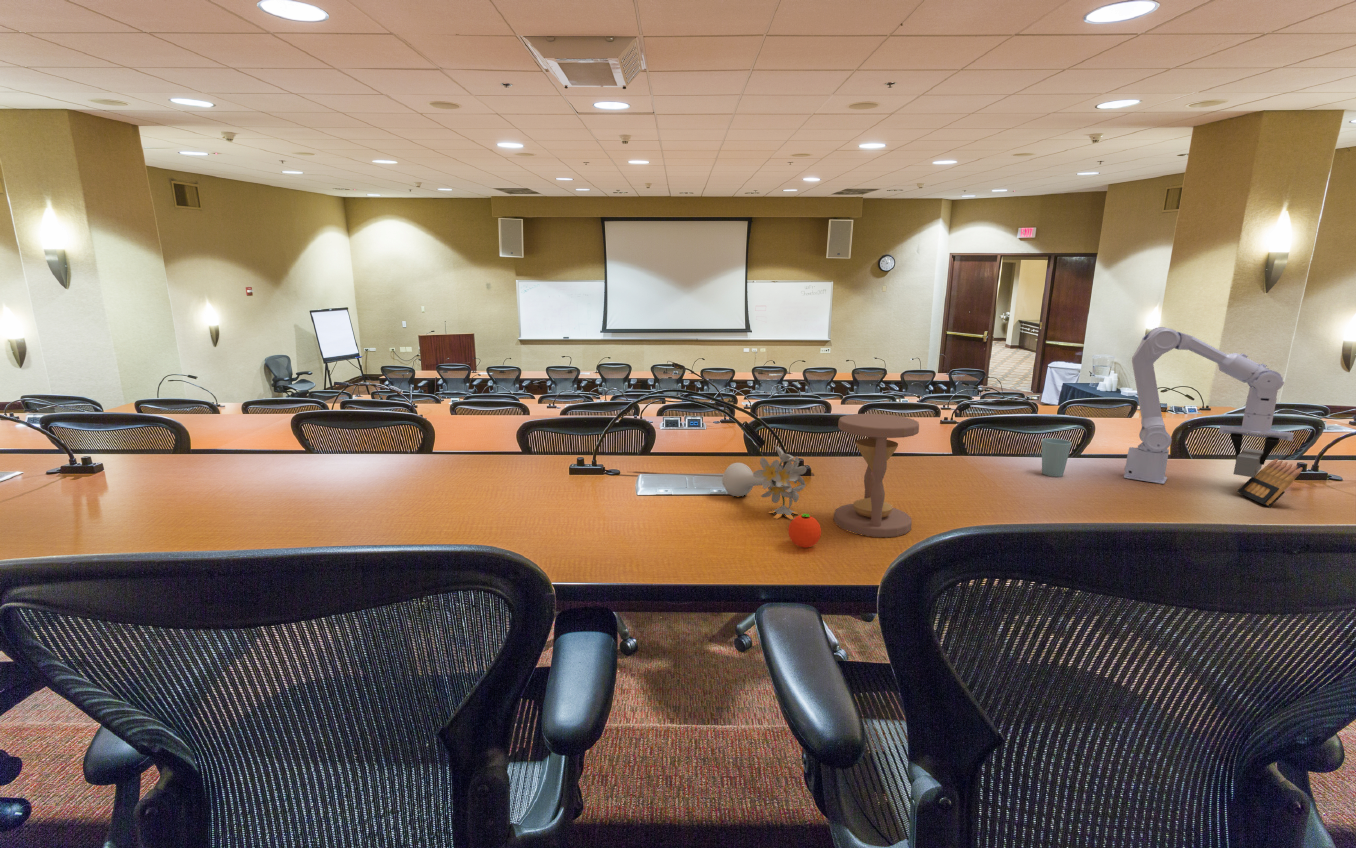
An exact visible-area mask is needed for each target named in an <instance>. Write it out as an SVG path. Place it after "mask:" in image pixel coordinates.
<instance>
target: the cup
mask: <svg viewBox="0 0 1356 848" xmlns="http://www.w3.org/2000/svg"><path fill="white" fill-rule="evenodd" d="M1071 446H1072V441H1070V440H1067V439H1061V438H1052V437H1050V438H1047V437H1046V438H1042V439H1041V474H1042V475H1043V476H1048V477H1057V478H1060V477H1063V476H1064V474H1065V470H1066V466H1067V462H1068V459H1069V454H1070V450H1071V448H1072V447H1071Z"/></svg>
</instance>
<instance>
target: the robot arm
mask: <svg viewBox="0 0 1356 848" xmlns="http://www.w3.org/2000/svg"><path fill="white" fill-rule="evenodd" d="M1173 349H1175V350H1180V351H1181V350H1182V351H1183V350H1185V351H1190V352H1192V353H1194V354H1196V355H1199V356H1201V357H1203V358H1205V359H1207V360H1209V361H1212V362H1214V363H1216V364H1217V366H1218V370H1219V372H1222V373H1224V374H1226V375H1228V376H1230V377H1232V378H1234V379H1235V380H1238V381H1240V382H1242V383H1244V384H1245V383H1246V384H1247V385H1248V386H1249V388H1248V395H1247V397H1246V402H1245V408H1244V412H1243V416H1242V417H1243V418H1242V423H1241V426H1232V425H1231V426H1230V425H1219V428H1218V429H1219V430H1218V434H1222V435H1223V434H1227V435H1230V439H1231V442H1232V445H1233V447H1234V452H1235V460H1236V459H1237V456H1238V455H1239V454H1240V453H1241V449H1242V444H1243V437H1244V436H1246V437H1256V438H1264V446H1263V454H1262V457H1261V461H1260V464H1261V465H1262V466H1263V465H1265V462H1266V460H1267V458H1268V457H1269V455H1270V453H1272V451H1273V449H1275V447H1277V446H1278V444H1279V443H1280V440H1282V441H1283V440H1284V441H1290V442H1293V441H1294V435H1295V434H1294V432H1290V431H1282V430H1281V431H1280V430H1273V429H1272V426H1273V425H1272V424H1273V420H1274V416H1275V415H1274V414H1275V409H1276V404H1277V399H1278V398H1277V396H1278V391H1279V390H1280V389H1281V388H1282V387H1283V386H1284V384H1285V381H1284V379H1283V376H1282V374H1281V373H1280V372H1278V371H1275V370H1272V369H1270V368H1268V366H1267V365H1266V364H1264V363H1261V364H1260V363H1258V362H1256V361H1254V360H1252V359H1250V358H1248V357H1249V355H1247V354H1246V353H1243V352H1242V353H1241V354H1240V353H1238V352H1233V353H1226V352H1224V351H1222V350H1219V349H1218V348H1216V347H1214V346H1212V345H1210V344H1208V343H1207V342H1205V341H1203V340H1201V339H1199V338H1197V337H1195V336H1193V335H1189V334H1187V333H1184V332H1181V331H1176V330H1175V329H1173V328H1169V327H1163V326H1158V327H1154V328H1153V329H1151V330H1150V331H1148V333H1146V334H1145V335H1144V336H1143V337H1142V339H1141V341H1140V343H1139V344H1138V347H1136V350H1135V352H1134V354H1133V355H1132V357H1131V363H1132V369H1133V375H1134V381H1135V387H1136V393H1137V400H1138V404H1139V405H1138V406H1139V411H1140V416H1141V420H1140V422H1141V429H1140V431H1139V439H1140V440H1141V443H1139V444H1138V445H1137V447H1132V446H1131V447H1129V448H1128V451H1127V455H1126V460H1125V461H1126V462H1125V465H1124V475H1123V478H1124V479H1129V480H1136V481H1142V482H1148V483H1155V484H1163V485H1164V484H1165V483H1166V482H1167V480H1168V476H1166V472H1167V466H1168V459H1169V453H1170V452H1169V451H1170V449H1168V448H1169V447H1170V446H1171V445H1172V441H1173V439H1172V436H1171V435H1170V433H1169V432H1168V431H1167V428H1166V426H1165V422H1164V419H1163V415H1162V414H1163V413H1162V409H1161V408H1162V407H1161V403H1160V402H1161V401H1160V396H1159V391H1158V384H1157V379H1156V373H1155V366H1154V364H1155V362H1156V361H1157V360H1159V359H1160V357H1161V356H1162V355H1164V354H1166V353H1168V352H1170V351H1172V350H1173Z"/></svg>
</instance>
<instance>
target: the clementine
mask: <svg viewBox="0 0 1356 848" xmlns="http://www.w3.org/2000/svg"><path fill="white" fill-rule="evenodd" d="M787 530H788V537H789V539H790V540H791V542H792V543H793V544H794V545H796V546H797V547H799V548H805V549H808V548H811V547H813V546H815V545H816V544H817V543H818V542H819V540H820V539H821V536H822V529H821V524H820V523H819V521H818V520H817V519H816V518H814V517H813V516H811V515H810V514H809V513H802V514H800V515H799V514H798V515H797V516H796V517H794V519H793V520H792V519H791V521H790V522H789V524H788V529H787Z"/></svg>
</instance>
